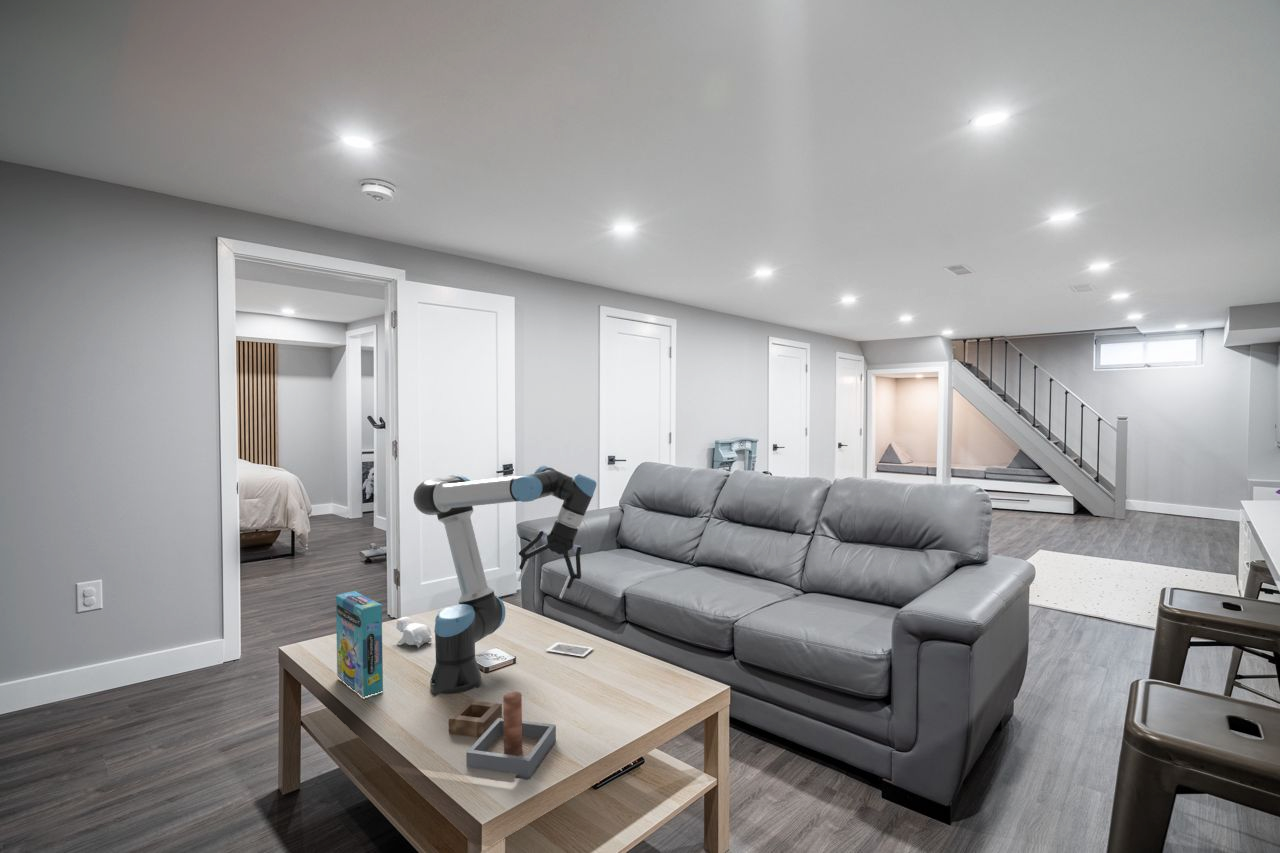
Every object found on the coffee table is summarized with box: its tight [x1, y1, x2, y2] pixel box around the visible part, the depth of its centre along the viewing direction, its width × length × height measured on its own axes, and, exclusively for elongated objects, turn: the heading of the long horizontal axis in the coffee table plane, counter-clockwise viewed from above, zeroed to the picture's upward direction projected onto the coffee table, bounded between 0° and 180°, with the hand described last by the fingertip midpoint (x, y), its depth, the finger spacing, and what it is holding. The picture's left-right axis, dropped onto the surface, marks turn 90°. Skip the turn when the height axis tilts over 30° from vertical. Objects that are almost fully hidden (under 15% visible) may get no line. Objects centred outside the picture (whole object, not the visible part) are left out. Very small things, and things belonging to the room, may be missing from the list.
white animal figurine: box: [395, 616, 433, 648], centre depth 217 cm, size 9×8×15 cm
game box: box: [335, 590, 384, 697], centre depth 182 cm, size 20×6×27 cm, turn 47°
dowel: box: [502, 691, 523, 756], centre depth 144 cm, size 4×4×14 cm
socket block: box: [448, 699, 503, 739], centre depth 156 cm, size 10×10×5 cm
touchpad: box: [545, 641, 594, 658], centre depth 208 cm, size 8×15×2 cm, turn 68°
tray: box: [465, 717, 557, 780], centre depth 144 cm, size 16×16×4 cm
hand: (540, 588), depth 179 cm, fingers open, 13 cm apart
